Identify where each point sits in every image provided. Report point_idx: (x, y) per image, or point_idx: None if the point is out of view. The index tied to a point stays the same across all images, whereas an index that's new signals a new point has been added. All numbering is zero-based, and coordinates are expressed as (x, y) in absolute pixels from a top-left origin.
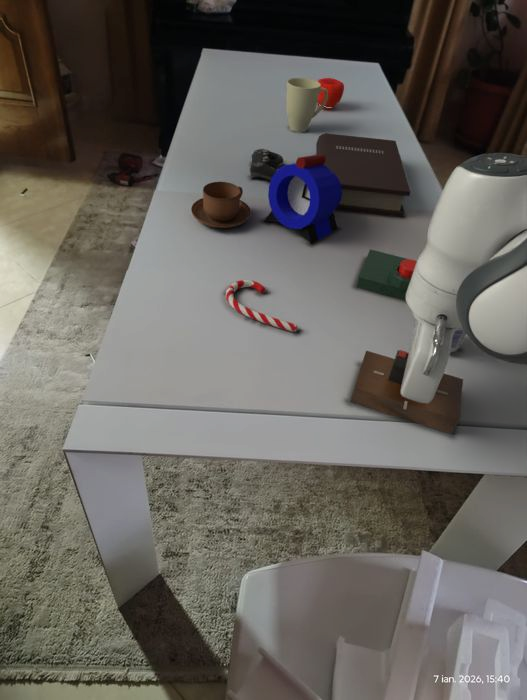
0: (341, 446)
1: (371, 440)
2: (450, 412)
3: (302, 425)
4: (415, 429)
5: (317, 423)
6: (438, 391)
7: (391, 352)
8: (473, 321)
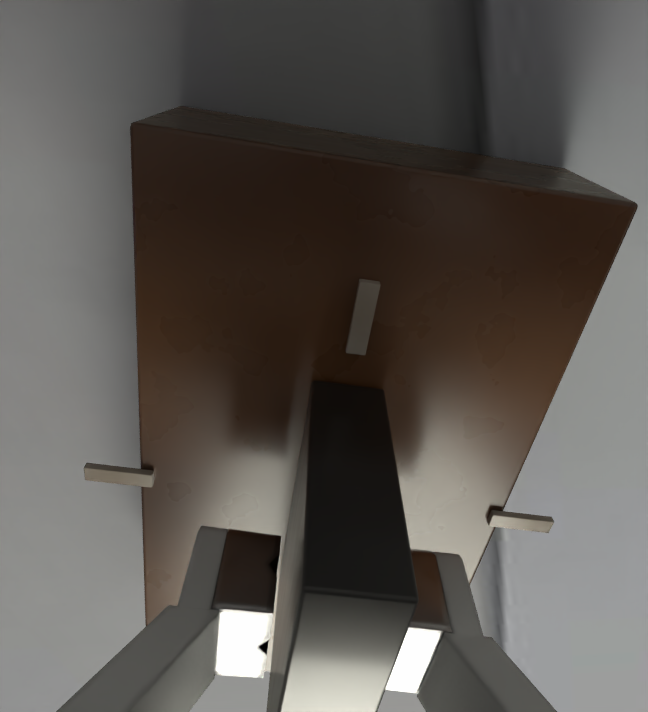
0: (637, 604)
1: (610, 526)
2: (559, 267)
3: (544, 690)
4: None
5: (532, 662)
6: (361, 345)
7: (12, 466)
8: None
